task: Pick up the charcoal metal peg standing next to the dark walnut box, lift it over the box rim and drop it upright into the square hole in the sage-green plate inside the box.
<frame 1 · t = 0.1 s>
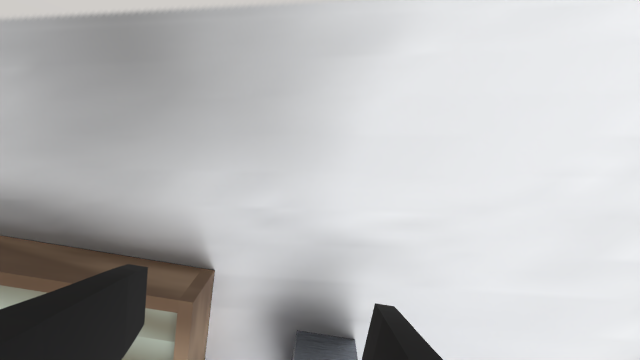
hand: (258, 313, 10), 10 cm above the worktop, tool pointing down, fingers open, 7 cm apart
walnut box: (74, 346, 22), on the worktop
charcoal peg: (320, 359, 22), on the worktop
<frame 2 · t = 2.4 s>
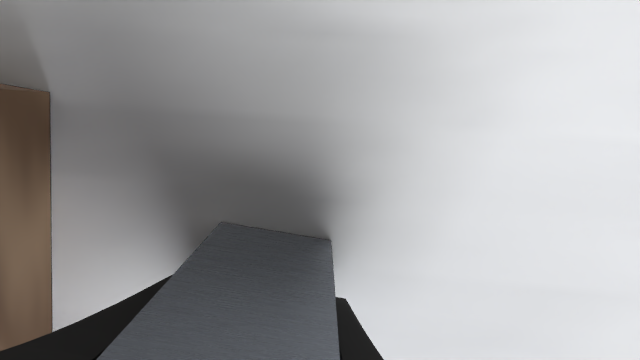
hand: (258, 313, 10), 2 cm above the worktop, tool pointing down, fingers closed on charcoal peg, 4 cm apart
charcoal peg: (268, 281, 12), on the worktop, touching gripper
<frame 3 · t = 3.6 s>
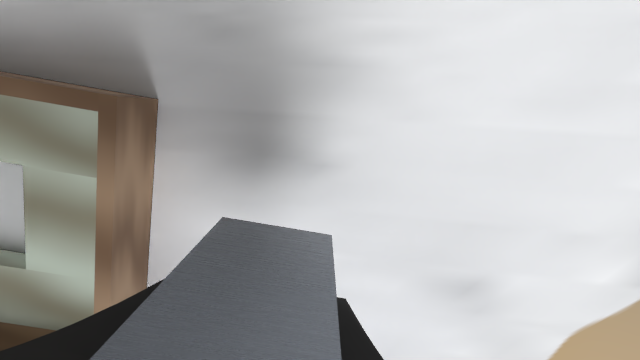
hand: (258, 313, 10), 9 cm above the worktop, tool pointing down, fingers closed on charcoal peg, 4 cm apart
charcoal peg: (269, 275, 12), point 7 cm above the worktop, touching gripper
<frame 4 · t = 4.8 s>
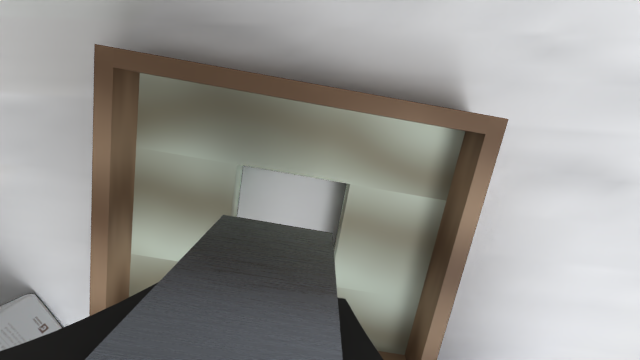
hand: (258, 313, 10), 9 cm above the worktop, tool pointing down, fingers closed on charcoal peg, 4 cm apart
walnut box: (288, 218, 18), on the worktop
skincare box: (21, 334, 21), on the worktop
charcoal peg: (270, 273, 12), point 7 cm above the worktop, touching gripper
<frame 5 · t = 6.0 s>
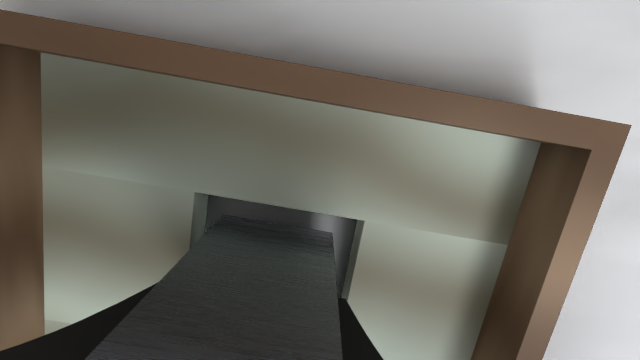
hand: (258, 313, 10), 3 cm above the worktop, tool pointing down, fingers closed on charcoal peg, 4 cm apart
walnut box: (274, 264, 13), on the worktop
charcoal peg: (270, 273, 12), point 1 cm above the worktop, touching gripper
when the fingers open (2 cm above the worktop, at t = 7.1 s): charcoal peg stays where it is, resting in walnut box.
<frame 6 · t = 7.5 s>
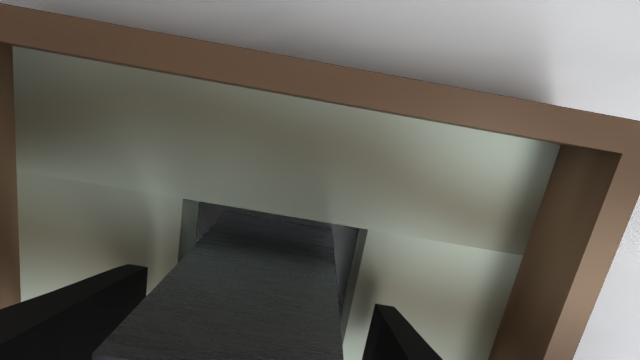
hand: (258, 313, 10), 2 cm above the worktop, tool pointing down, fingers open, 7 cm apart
walnut box: (270, 274, 12), on the worktop
charcoal peg: (271, 269, 12), resting in walnut box
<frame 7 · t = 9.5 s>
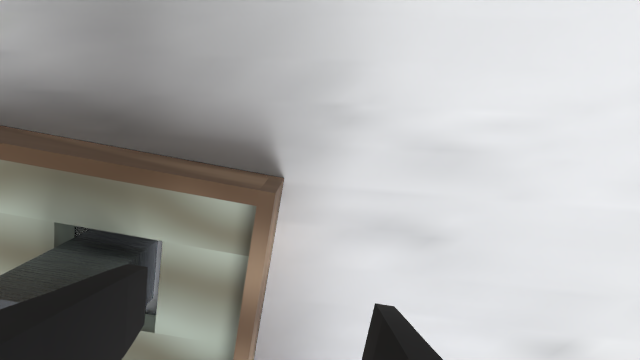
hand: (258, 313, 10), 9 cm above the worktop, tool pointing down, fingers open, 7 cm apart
walnut box: (122, 267, 20), on the worktop
charcoal peg: (123, 263, 20), resting in walnut box
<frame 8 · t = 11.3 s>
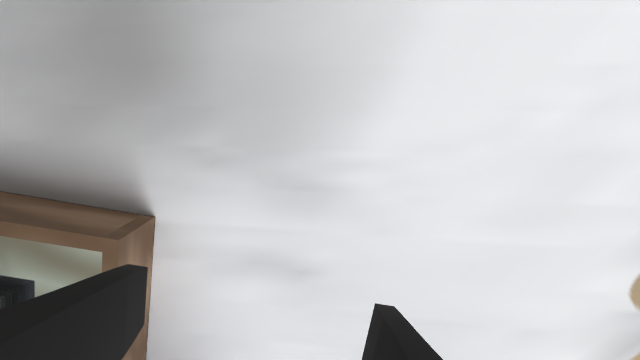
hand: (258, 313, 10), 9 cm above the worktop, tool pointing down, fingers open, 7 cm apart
walnut box: (9, 302, 20), on the worktop
charcoal peg: (9, 299, 20), resting in walnut box
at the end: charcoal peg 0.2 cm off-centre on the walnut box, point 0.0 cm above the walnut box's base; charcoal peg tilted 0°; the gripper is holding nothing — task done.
